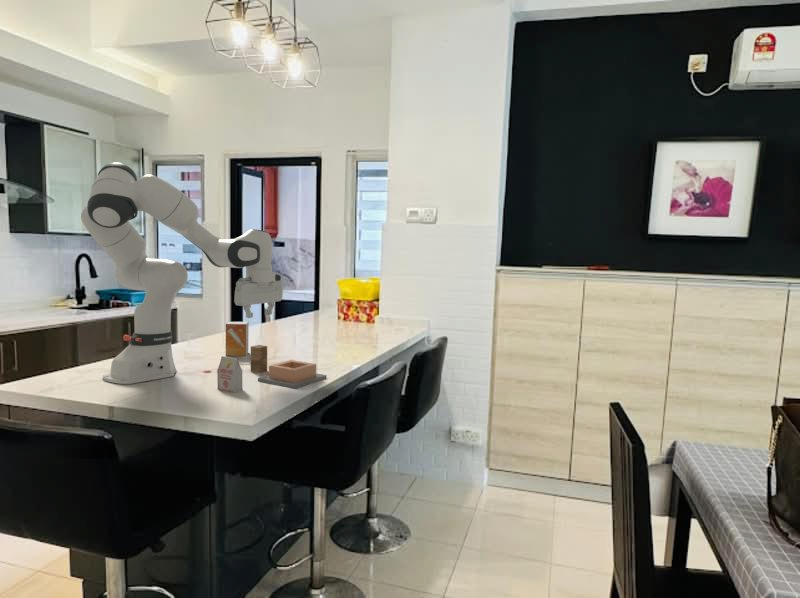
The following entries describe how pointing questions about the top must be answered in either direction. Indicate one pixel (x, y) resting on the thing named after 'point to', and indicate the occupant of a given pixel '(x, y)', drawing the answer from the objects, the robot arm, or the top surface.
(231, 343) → the small box
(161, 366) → the robot arm
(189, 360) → the top surface
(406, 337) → the top surface
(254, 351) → the tall wooden block
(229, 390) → the white carton
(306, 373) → the tan square frame
